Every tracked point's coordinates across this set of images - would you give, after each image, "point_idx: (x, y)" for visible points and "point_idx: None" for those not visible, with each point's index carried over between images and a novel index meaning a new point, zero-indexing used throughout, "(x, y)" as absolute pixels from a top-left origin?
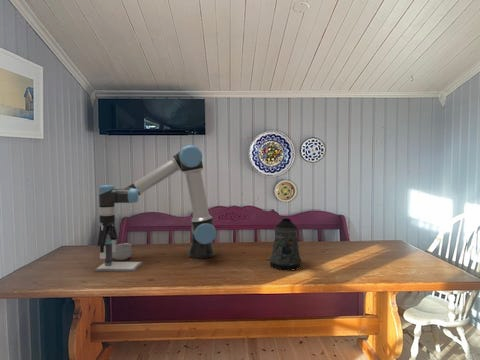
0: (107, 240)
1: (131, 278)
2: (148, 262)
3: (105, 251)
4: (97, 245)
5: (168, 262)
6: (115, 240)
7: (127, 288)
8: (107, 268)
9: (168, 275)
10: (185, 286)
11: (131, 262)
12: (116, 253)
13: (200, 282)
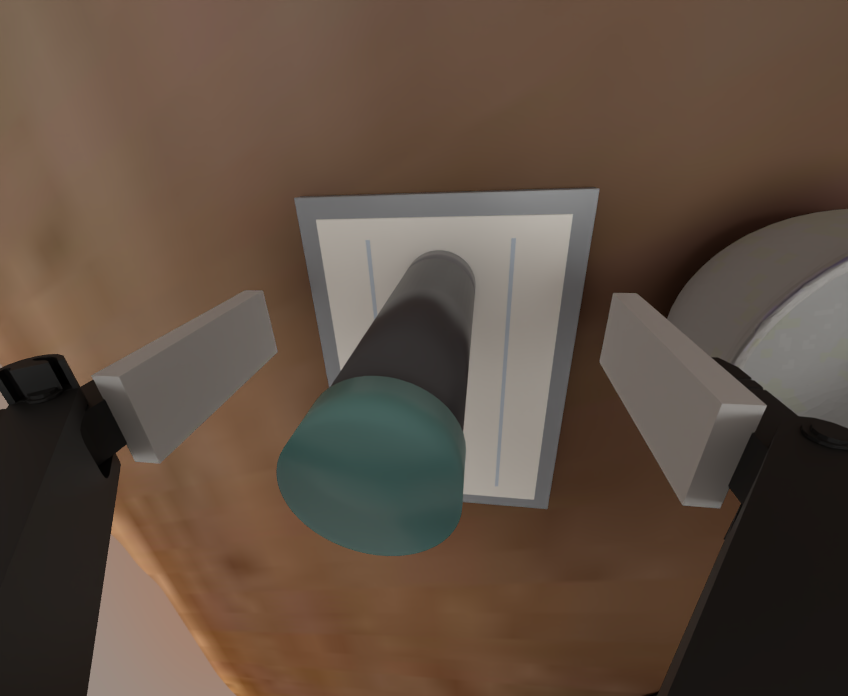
0: (354, 482)
1: (224, 493)
2: (569, 529)
3: (221, 400)
4: (13, 364)
5: (555, 614)
6: (709, 496)
7: None
8: (331, 318)
9: (316, 613)
10: (211, 649)
11: (524, 450)
12: (693, 326)
13: (265, 680)
